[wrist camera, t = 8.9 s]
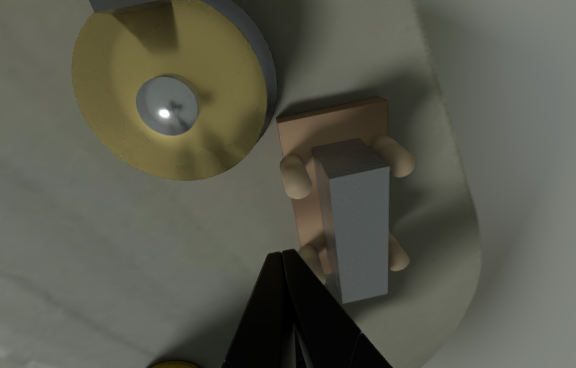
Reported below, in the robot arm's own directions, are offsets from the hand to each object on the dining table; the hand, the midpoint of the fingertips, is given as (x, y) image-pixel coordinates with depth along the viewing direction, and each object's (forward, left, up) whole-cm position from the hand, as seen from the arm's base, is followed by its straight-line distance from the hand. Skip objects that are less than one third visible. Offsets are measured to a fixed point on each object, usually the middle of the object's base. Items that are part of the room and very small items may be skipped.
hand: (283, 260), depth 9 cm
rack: (-6, -4, -12) cm, 14 cm away
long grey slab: (-6, -4, -10) cm, 13 cm away
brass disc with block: (+6, +4, -10) cm, 12 cm away
